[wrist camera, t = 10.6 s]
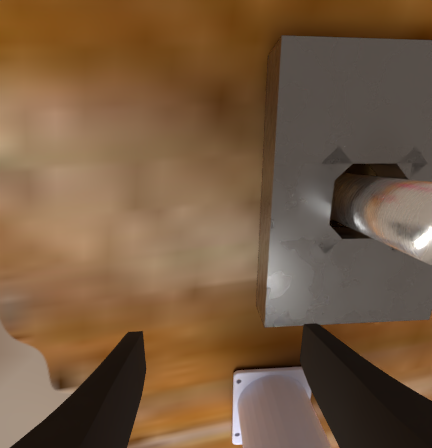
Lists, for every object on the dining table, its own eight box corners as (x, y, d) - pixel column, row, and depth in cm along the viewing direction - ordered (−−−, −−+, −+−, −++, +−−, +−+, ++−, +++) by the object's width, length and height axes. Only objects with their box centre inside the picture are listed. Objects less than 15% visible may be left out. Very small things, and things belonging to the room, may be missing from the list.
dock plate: (400, 299, 23) (429, 319, 20) (256, 305, 22) (264, 327, 20) (453, 60, 18) (502, 42, 15) (267, 55, 17) (281, 35, 14)
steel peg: (366, 218, 21) (483, 260, 12) (320, 223, 21) (407, 271, 12) (368, 170, 20) (500, 180, 11) (320, 176, 20) (416, 191, 11)
